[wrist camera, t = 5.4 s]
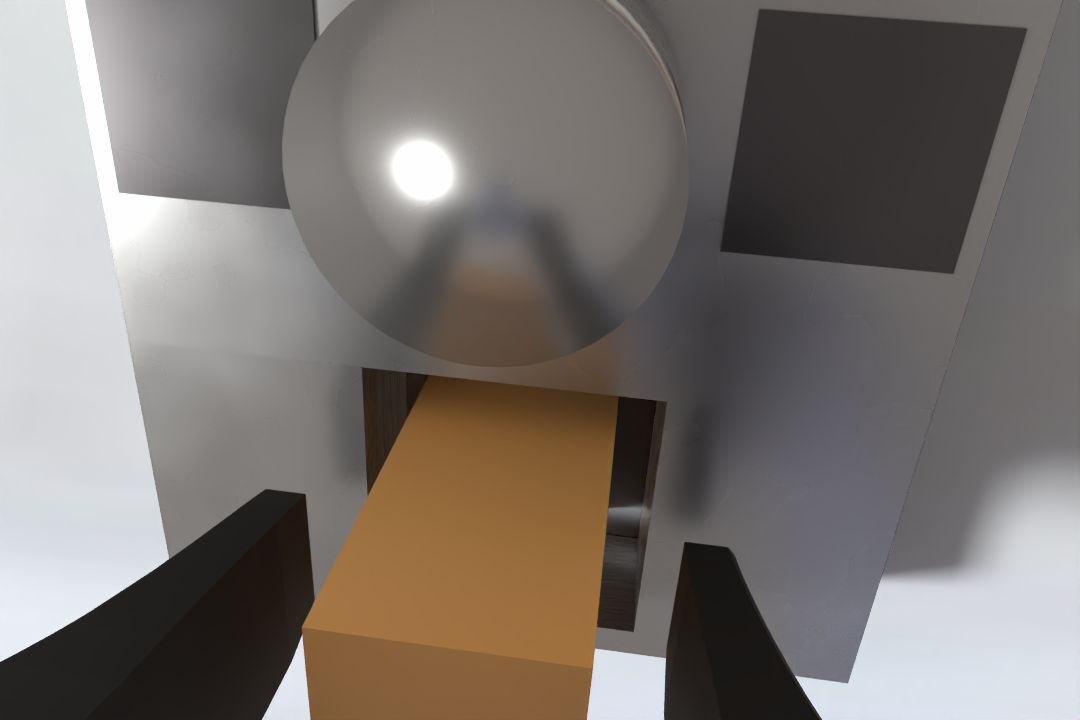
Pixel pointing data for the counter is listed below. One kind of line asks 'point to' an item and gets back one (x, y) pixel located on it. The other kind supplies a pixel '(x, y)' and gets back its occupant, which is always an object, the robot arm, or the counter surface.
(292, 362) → the gray tray with knob
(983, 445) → the counter surface
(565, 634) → the orange rectangular box
